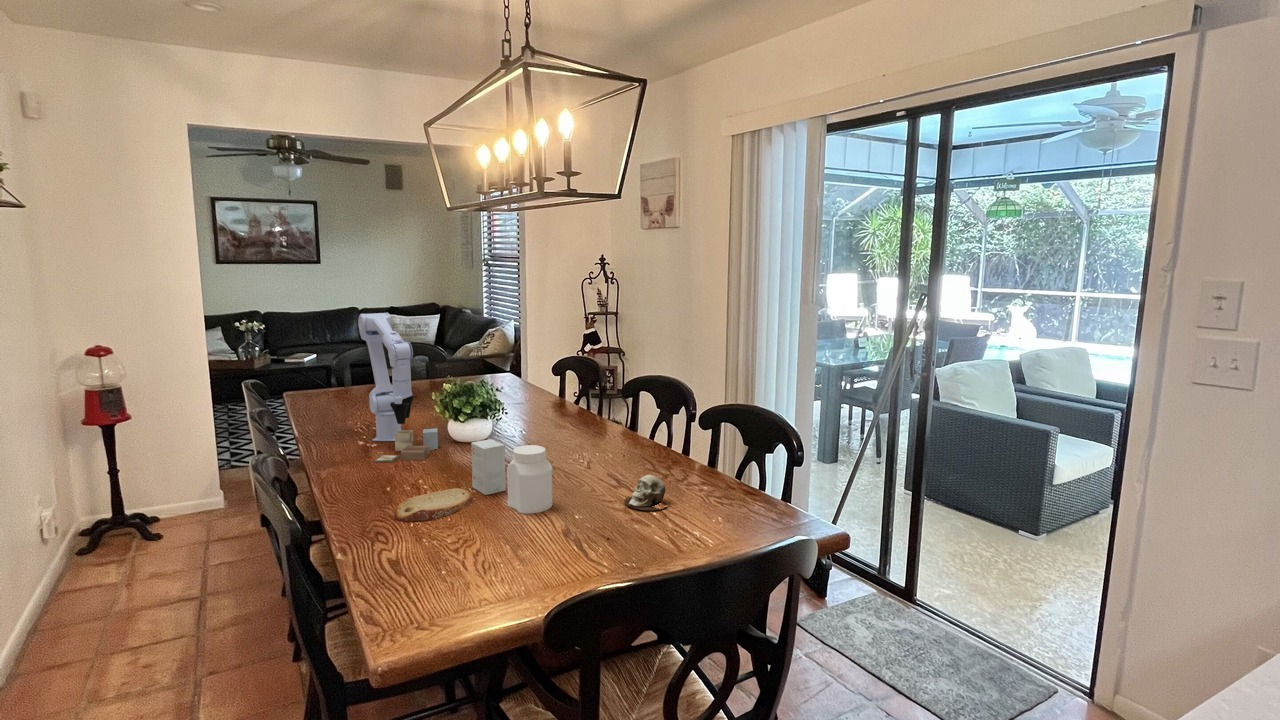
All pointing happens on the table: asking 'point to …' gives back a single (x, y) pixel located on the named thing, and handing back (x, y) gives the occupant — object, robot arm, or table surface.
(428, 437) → the slate block
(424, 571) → the table surface
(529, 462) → the jar
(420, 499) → the slice of bread
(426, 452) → the walnut block
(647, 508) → the skull
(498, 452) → the small box
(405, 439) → the maple block
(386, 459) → the swatch tile
